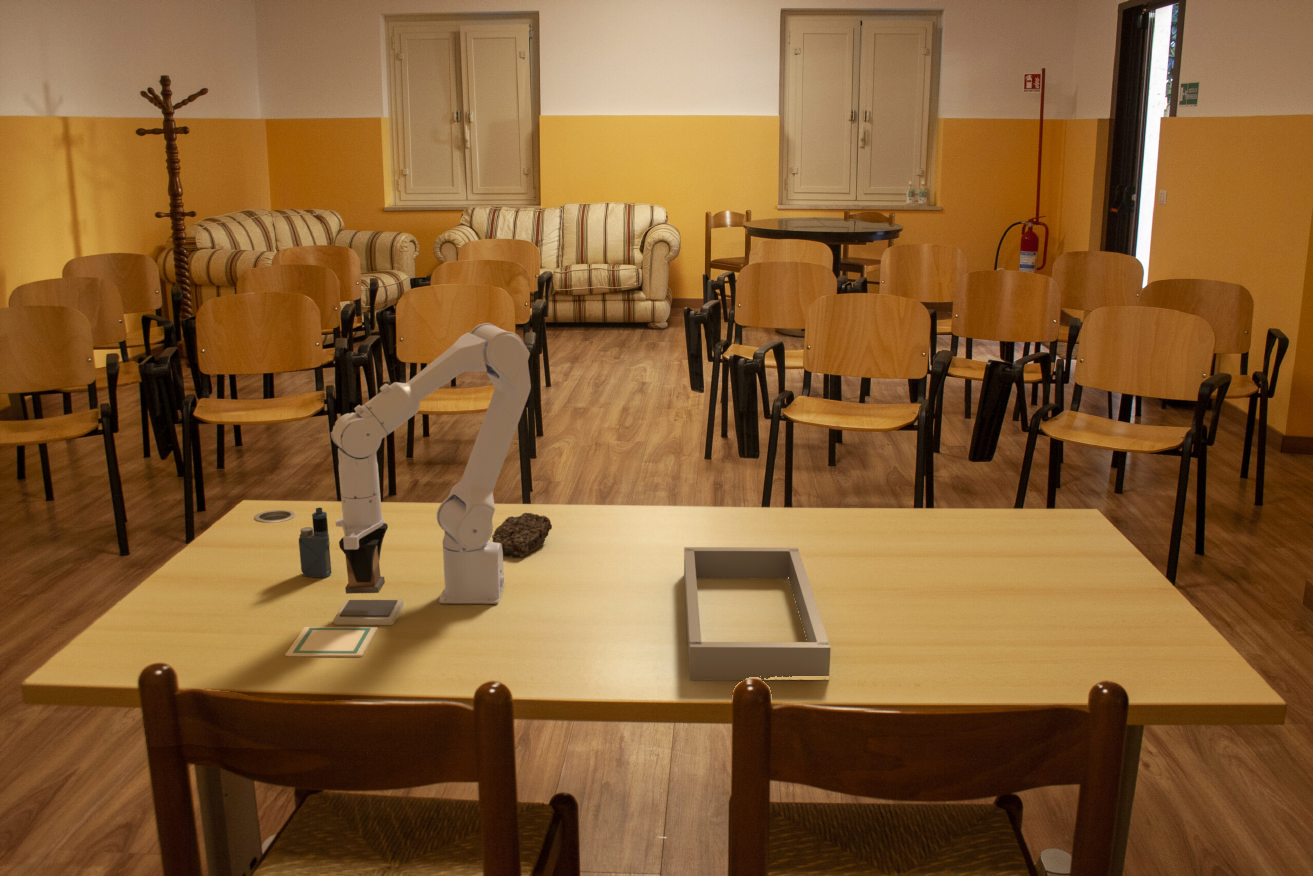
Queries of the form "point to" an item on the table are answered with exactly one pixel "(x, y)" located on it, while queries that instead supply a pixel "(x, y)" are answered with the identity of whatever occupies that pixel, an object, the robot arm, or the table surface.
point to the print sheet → (332, 641)
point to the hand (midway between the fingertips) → (367, 576)
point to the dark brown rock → (522, 534)
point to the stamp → (365, 587)
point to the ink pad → (368, 612)
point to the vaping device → (315, 547)
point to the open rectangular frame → (753, 656)
